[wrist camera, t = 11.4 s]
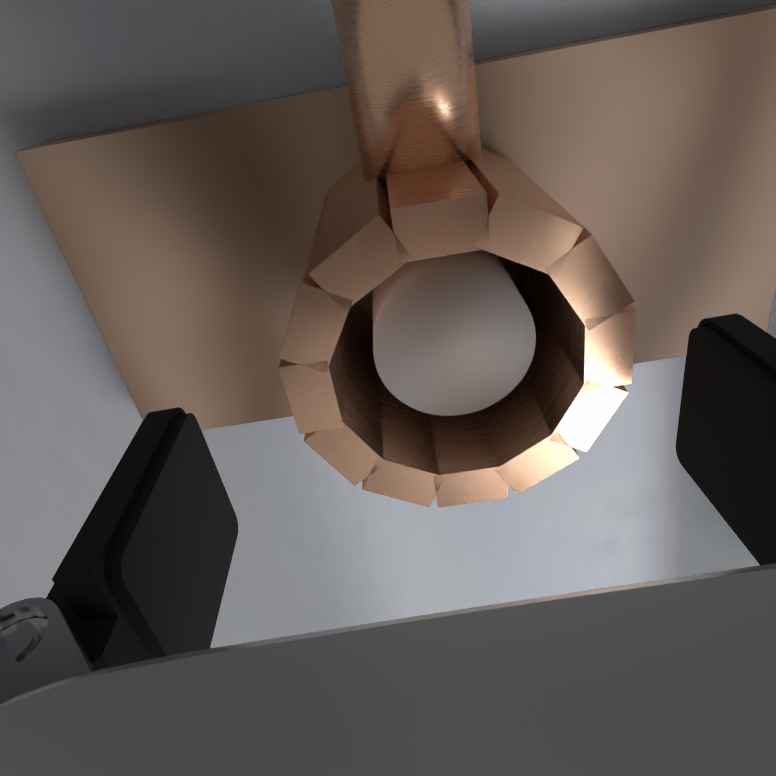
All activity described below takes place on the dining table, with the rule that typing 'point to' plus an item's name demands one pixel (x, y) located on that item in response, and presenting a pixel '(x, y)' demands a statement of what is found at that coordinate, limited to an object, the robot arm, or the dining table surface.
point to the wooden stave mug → (435, 239)
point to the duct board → (277, 159)
